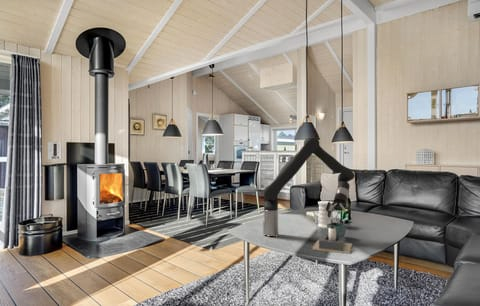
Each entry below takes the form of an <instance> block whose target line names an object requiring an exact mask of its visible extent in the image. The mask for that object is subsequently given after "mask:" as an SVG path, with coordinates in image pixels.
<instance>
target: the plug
mask: <svg viewBox="0 0 480 306" xmlns="http://www.w3.org/2000/svg"><path fill="white" fill-rule="evenodd" d="M333 223H334V220H331V225H330V228H328V229H327V232H328V231H329V233H328V235H329V240H332V241H336V228H334V225H333Z"/></svg>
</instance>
